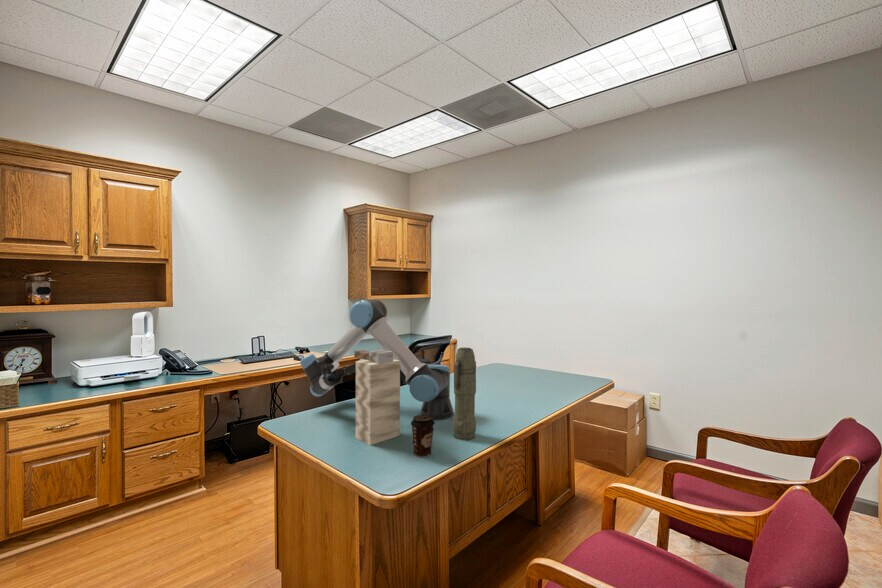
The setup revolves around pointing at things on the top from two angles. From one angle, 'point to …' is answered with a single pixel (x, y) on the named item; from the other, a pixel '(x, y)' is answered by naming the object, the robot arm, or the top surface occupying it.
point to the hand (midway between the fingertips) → (352, 360)
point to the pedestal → (377, 401)
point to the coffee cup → (422, 434)
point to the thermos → (464, 394)
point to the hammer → (375, 356)
